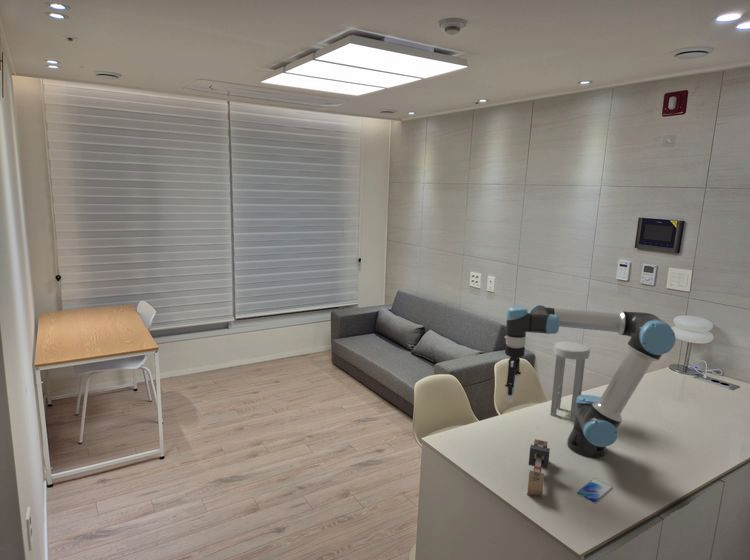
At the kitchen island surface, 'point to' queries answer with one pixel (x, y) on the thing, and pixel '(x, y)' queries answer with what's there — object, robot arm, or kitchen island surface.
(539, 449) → the grey rectangular sleeve
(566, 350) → the stool
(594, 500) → the smartphone
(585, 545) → the kitchen island surface
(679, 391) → the kitchen island surface
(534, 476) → the sliding collar rod
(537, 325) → the robot arm
